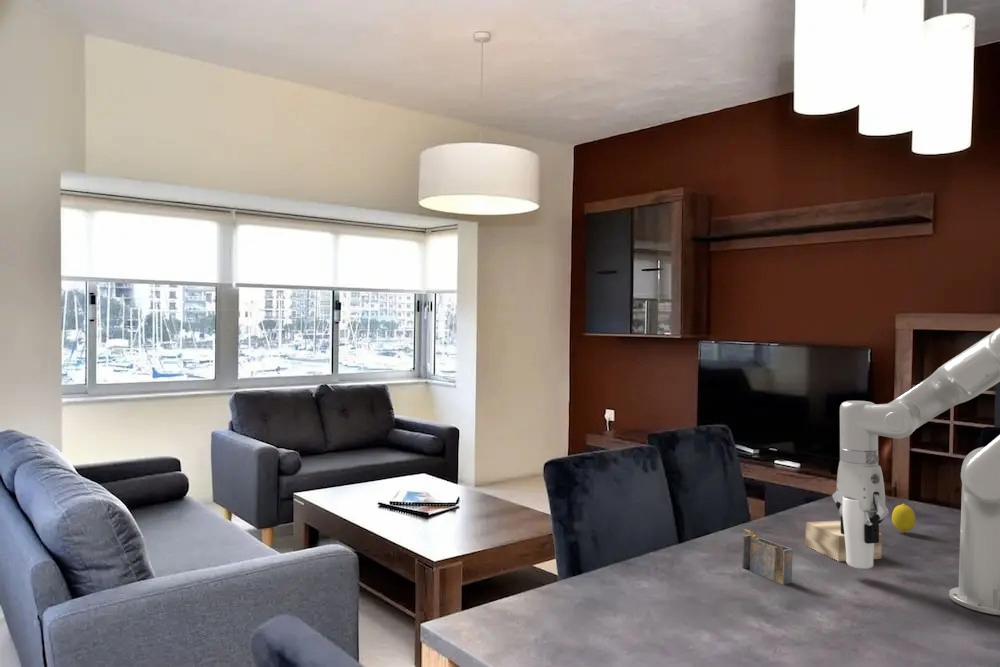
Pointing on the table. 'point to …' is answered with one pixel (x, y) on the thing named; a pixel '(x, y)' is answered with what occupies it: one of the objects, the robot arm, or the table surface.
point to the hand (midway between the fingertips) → (859, 537)
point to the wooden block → (832, 540)
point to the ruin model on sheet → (767, 558)
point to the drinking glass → (856, 535)
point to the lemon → (903, 518)
